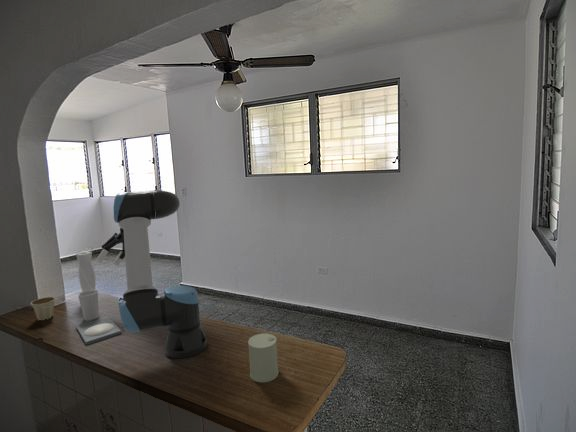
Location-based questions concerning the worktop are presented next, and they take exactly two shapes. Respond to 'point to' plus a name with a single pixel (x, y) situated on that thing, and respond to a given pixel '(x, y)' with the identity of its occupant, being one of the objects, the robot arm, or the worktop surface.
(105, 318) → the board
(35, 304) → the flower pot
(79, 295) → the cup
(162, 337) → the worktop surface
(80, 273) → the skyscraper
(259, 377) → the can
